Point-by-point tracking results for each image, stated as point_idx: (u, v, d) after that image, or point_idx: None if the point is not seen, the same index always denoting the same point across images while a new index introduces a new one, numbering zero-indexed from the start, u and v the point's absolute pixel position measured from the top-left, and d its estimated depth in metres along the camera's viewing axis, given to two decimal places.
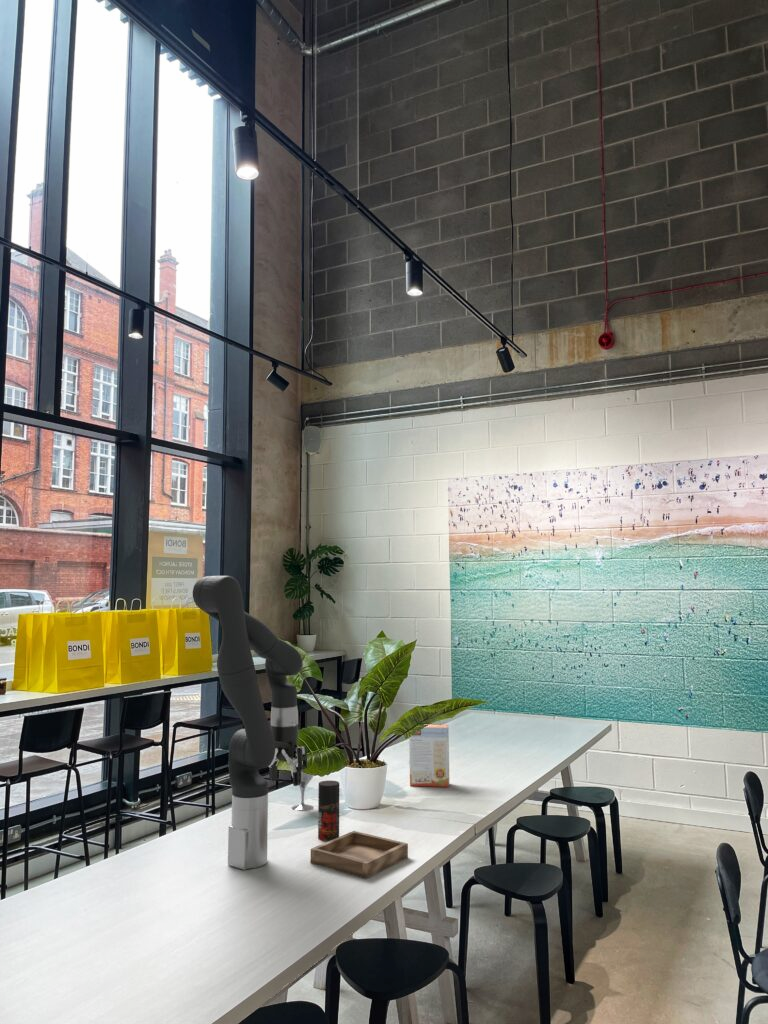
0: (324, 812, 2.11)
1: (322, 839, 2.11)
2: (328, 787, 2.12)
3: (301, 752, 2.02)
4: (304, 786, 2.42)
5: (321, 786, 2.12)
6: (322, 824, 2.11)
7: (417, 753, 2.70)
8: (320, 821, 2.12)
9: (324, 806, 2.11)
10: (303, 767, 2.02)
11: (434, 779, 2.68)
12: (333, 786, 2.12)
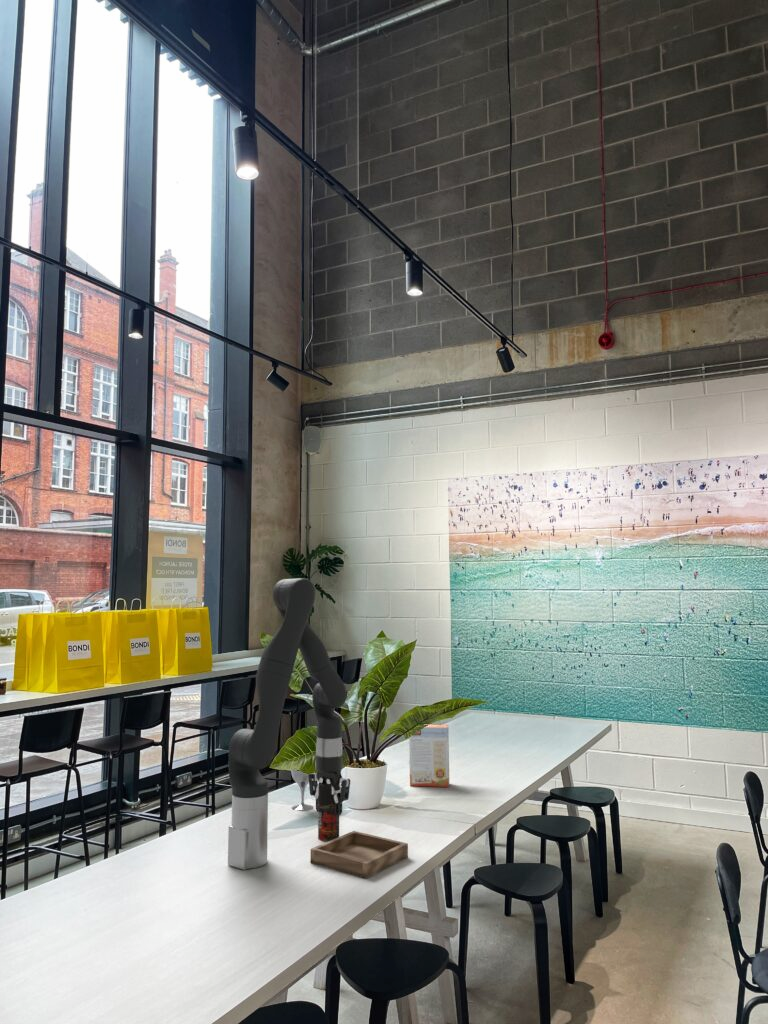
0: (324, 812, 2.11)
1: (322, 839, 2.11)
2: (328, 787, 2.12)
3: (345, 785, 2.10)
4: (304, 786, 2.42)
5: (321, 786, 2.12)
6: (322, 824, 2.11)
7: (417, 753, 2.70)
8: (320, 821, 2.12)
9: (324, 806, 2.11)
10: (344, 799, 2.11)
11: (434, 779, 2.68)
12: (333, 786, 2.12)
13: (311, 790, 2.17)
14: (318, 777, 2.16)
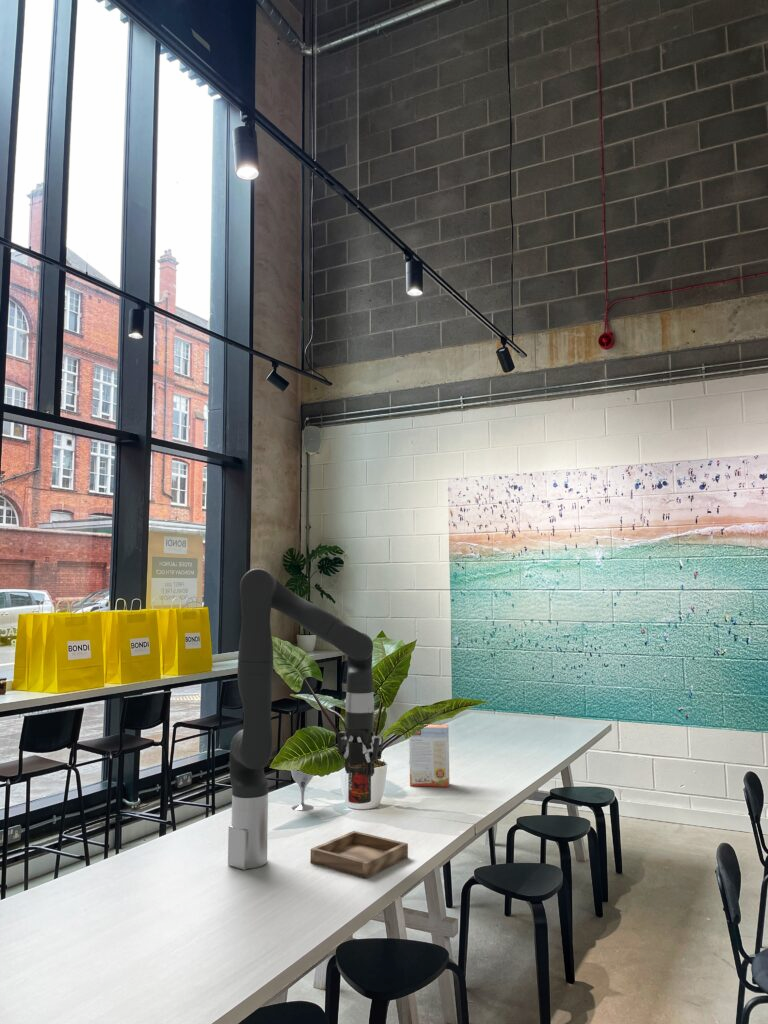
0: (355, 772, 1.95)
1: (353, 801, 1.95)
2: (359, 745, 1.96)
3: (378, 743, 1.94)
4: (304, 786, 2.42)
5: (352, 744, 1.96)
6: (353, 785, 1.95)
7: (417, 753, 2.70)
8: (351, 782, 1.96)
9: (355, 765, 1.95)
10: (377, 758, 1.94)
11: (434, 779, 2.68)
12: (365, 744, 1.96)
13: (340, 750, 2.01)
14: (348, 735, 2.00)
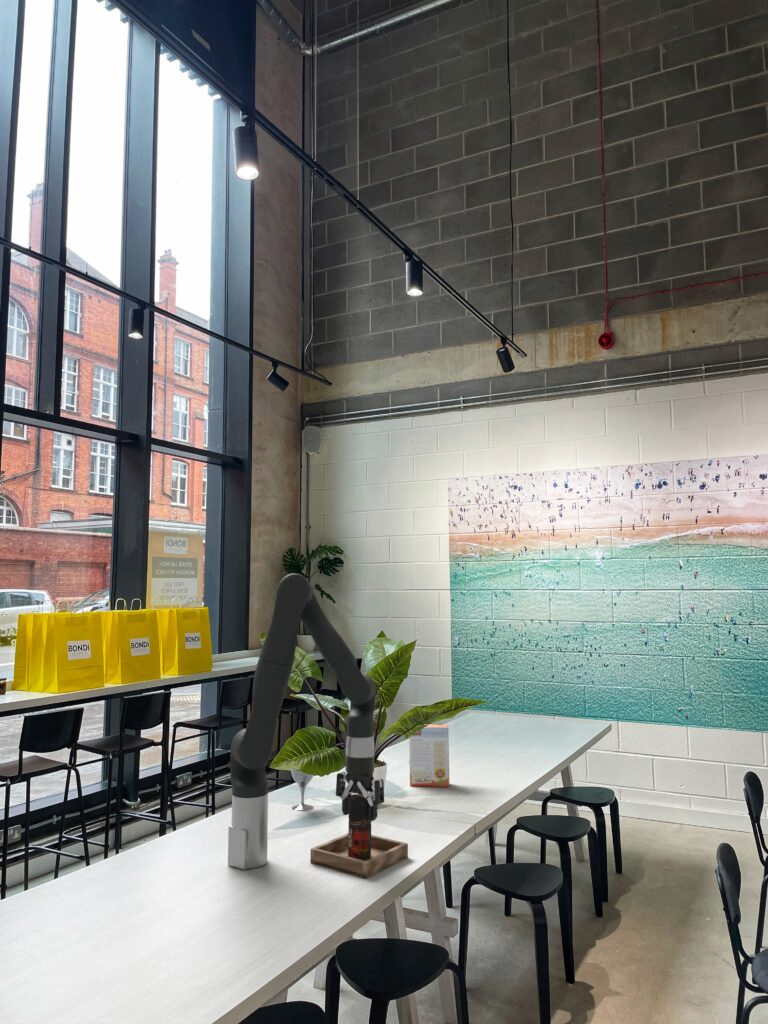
0: (356, 829, 1.94)
1: None
2: (360, 802, 1.94)
3: (378, 785, 1.93)
4: (304, 786, 2.42)
5: (352, 800, 1.95)
6: (353, 842, 1.93)
7: (417, 753, 2.70)
8: (351, 839, 1.94)
9: (356, 822, 1.94)
10: (380, 801, 1.92)
11: (434, 779, 2.68)
12: (365, 801, 1.94)
13: (337, 791, 2.00)
14: (347, 779, 1.98)
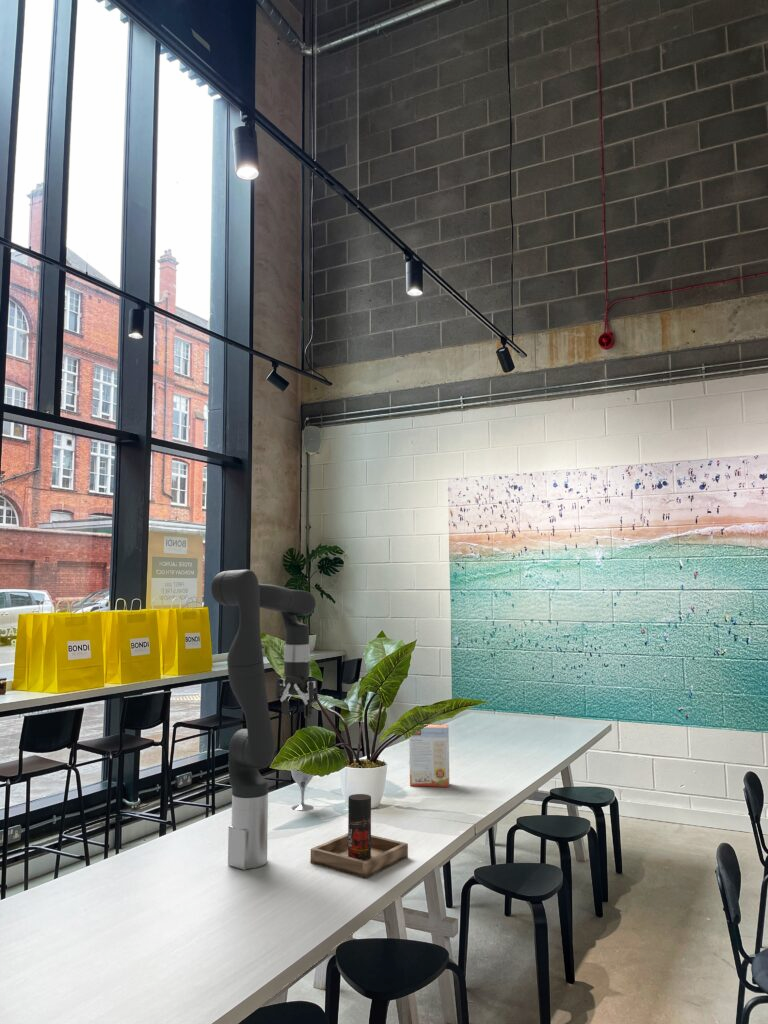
0: (355, 829, 1.94)
1: None
2: (359, 801, 1.94)
3: (312, 686, 2.16)
4: (304, 786, 2.42)
5: (351, 800, 1.95)
6: (353, 842, 1.94)
7: (417, 753, 2.70)
8: (350, 839, 1.94)
9: (355, 822, 1.94)
10: (314, 700, 2.16)
11: (434, 779, 2.68)
12: (365, 800, 1.95)
13: (277, 694, 2.23)
14: (286, 683, 2.22)
